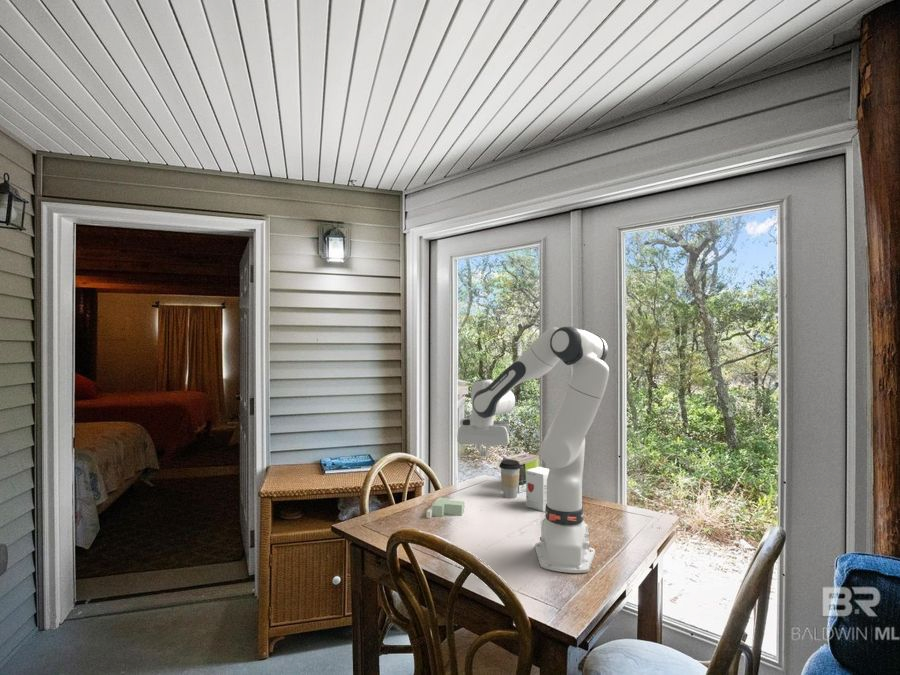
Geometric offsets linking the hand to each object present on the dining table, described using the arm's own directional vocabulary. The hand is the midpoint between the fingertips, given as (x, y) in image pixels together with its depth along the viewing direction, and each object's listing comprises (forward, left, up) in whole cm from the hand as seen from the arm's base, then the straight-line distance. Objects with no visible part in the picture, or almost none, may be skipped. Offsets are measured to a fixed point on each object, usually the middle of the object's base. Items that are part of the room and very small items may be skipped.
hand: (483, 456), depth 181 cm
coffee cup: (+26, -7, -23) cm, 36 cm away
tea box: (+40, -11, -23) cm, 47 cm away
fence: (0, +15, -23) cm, 28 cm away
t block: (0, +14, -23) cm, 27 cm away
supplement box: (+16, -21, -23) cm, 35 cm away
